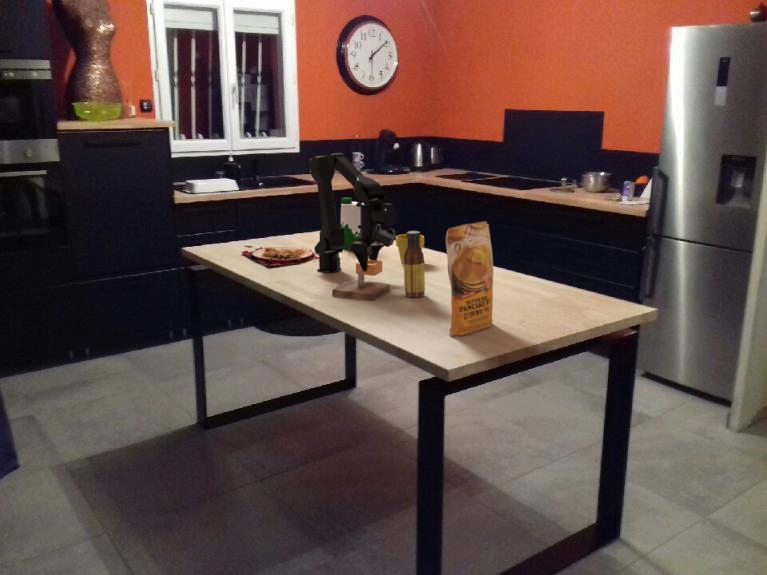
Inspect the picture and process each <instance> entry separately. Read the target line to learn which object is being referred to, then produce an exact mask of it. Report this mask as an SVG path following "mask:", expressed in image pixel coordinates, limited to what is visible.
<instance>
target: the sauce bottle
mask: <svg viewBox="0 0 767 575" xmlns="http://www.w3.org/2000/svg"><path fill="white" fill-rule="evenodd" d="M406 234H407V238H408V244H407V249H406V251H405V253H404V264H403V273H404V275H403V276H404V278H403V279H404V281H403V282H404V283H403V284H404V294H405V296H406V297H407V298H417V299H418V298H421V297H424V296H425V292H426V291H425V290H426V282H425V280H426V278H425V274H426V273H425V256H424V253H423V250H421V248H420V235H421V232H420V231H417V230H410V231H407V232H406Z"/></svg>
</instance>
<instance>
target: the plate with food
mask: <svg viewBox="0 0 767 575" xmlns="http://www.w3.org/2000/svg"><path fill="white" fill-rule="evenodd" d="M243 247H244V248H245V247H246V248H249V250H250V249H251V248H254V246H253V245H243ZM249 250H243V251H240V252H241V253H242V255H245V256H246V258H250V259H252V260H253V261H255V259H254V258H253V257H255V258H256V263H259V264H260V265H262V266H265V267H266V266H267V267H277V266H282V267H283V266H288V265H290V266H291V265H296V264H297V265H301V264H306V263H308V262H310V261H314V260H319V255H318V254H316V253H315V251H314V252H313V251H312V249H307V248H303V246H302V247H292V246H289V247H288V246H281V247H280V246H279V247H278V246H275V247H271V246H269V247H266V246H265V247H264V248H263V247H262V246H260V247H258V248H255V249H254V250H252V251H249ZM314 262H317V261H314Z"/></svg>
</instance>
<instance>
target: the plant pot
mask: <svg viewBox="0 0 767 575" xmlns="http://www.w3.org/2000/svg"><path fill="white" fill-rule="evenodd" d="M407 244H408V238H407V233H405V234H399V235H396V239H395V247H397V249H398V254H399V258H400V263H401V264H403V265H404V253H405V251H406V249H407ZM423 247H425V236H424V235H422V234H420V248H421V250H422V249H423ZM422 251H423V250H422Z"/></svg>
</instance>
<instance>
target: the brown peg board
mask: <svg viewBox="0 0 767 575" xmlns="http://www.w3.org/2000/svg"><path fill="white" fill-rule="evenodd" d="M331 291H332V294H331V296H333V297H339V296H340V297H341V298H347V297H348V299H354V300H355V299H356V300H357V299H358V300H366V301H373V302H374V301H377V300H378V299H380V298H381V297H382V296H384V295H385V294H386V293H388V292H390V284H388V283H387V284H386V283H379V282H378V283H377V282H369V281H365V275H364V271H358V274H357V280H351V279H350V280H347V281H345V282H343V283H341V284H339V285H337V286H336V287H334V288H332V290H331Z"/></svg>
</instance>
